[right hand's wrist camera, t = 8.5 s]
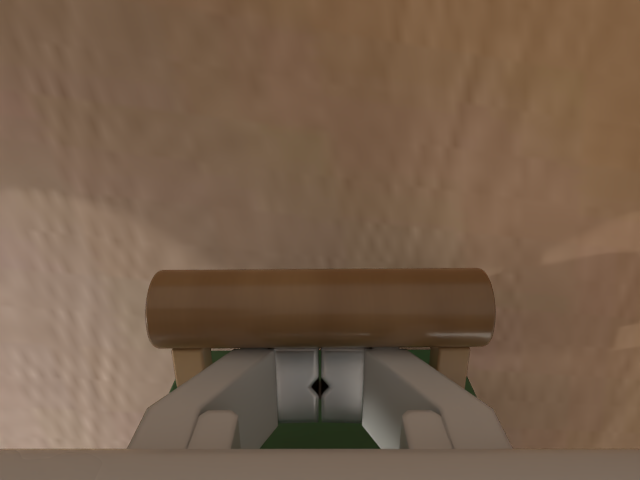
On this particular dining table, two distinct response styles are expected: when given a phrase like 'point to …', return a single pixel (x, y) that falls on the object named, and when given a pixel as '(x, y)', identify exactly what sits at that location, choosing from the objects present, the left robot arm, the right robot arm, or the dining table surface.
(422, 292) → the drawer
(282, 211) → the dining table surface
